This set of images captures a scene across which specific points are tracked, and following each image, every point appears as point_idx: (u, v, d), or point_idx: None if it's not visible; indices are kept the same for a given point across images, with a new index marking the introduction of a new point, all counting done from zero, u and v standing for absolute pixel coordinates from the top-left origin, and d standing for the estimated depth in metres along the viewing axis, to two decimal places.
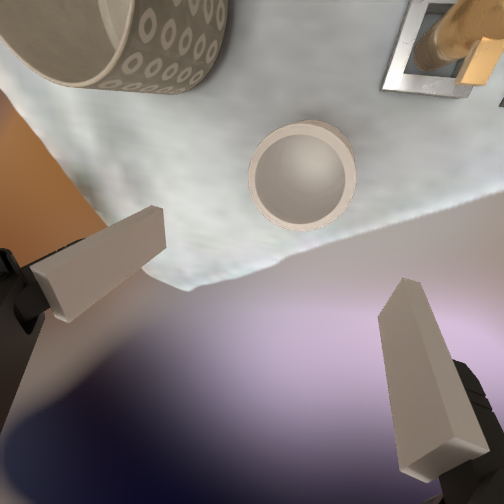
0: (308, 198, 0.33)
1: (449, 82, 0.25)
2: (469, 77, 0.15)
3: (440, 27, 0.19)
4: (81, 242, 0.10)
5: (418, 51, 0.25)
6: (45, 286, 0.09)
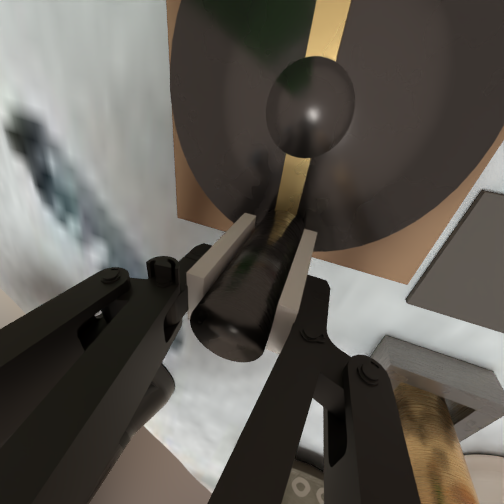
0: None
1: (476, 416, 0.18)
2: None
3: None
4: (211, 249, 0.11)
5: None
6: (195, 291, 0.10)
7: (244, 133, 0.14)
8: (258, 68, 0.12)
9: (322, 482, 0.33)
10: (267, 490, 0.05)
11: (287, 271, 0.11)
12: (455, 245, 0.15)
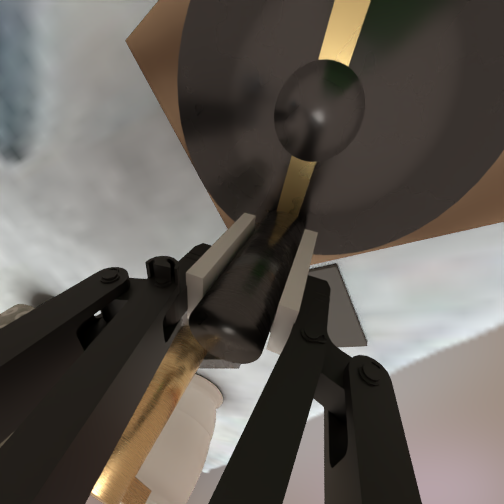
0: None
1: (218, 361, 0.27)
2: None
3: None
4: (211, 249, 0.11)
5: None
6: (194, 290, 0.10)
7: (250, 131, 0.14)
8: (269, 66, 0.12)
9: None
10: (268, 491, 0.05)
11: (286, 274, 0.11)
12: None
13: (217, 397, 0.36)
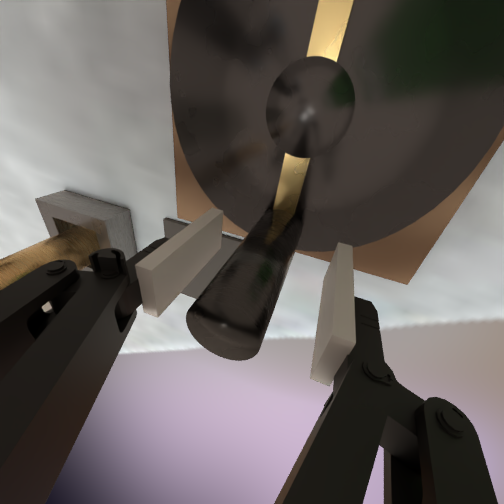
0: None
1: None
2: None
3: None
4: (168, 242, 0.11)
5: None
6: (145, 283, 0.10)
7: (244, 131, 0.14)
8: (259, 66, 0.12)
9: None
10: None
11: (284, 270, 0.11)
12: None
13: None
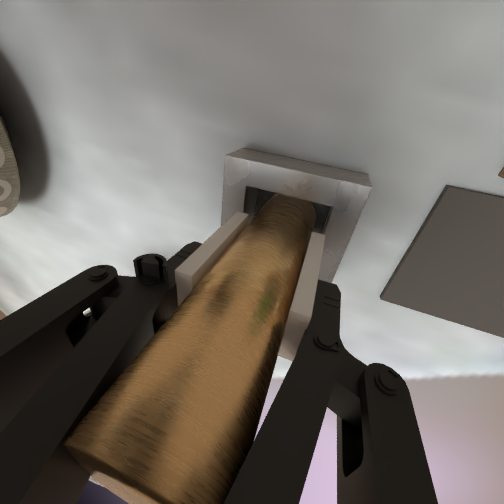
0: None
1: None
2: None
3: None
4: (201, 247, 0.11)
5: None
6: (184, 288, 0.10)
7: None
8: None
9: (7, 144, 0.19)
10: (280, 501, 0.04)
11: None
12: None
13: None
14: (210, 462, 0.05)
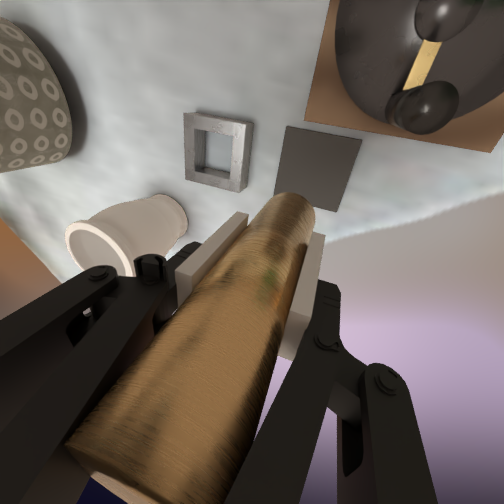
0: None
1: (224, 181, 0.32)
2: None
3: None
4: (201, 247, 0.11)
5: None
6: (184, 288, 0.10)
7: (391, 29, 0.21)
8: None
9: (68, 113, 0.35)
10: (280, 501, 0.04)
11: None
12: (330, 138, 0.28)
13: (184, 226, 0.41)
14: (210, 463, 0.05)
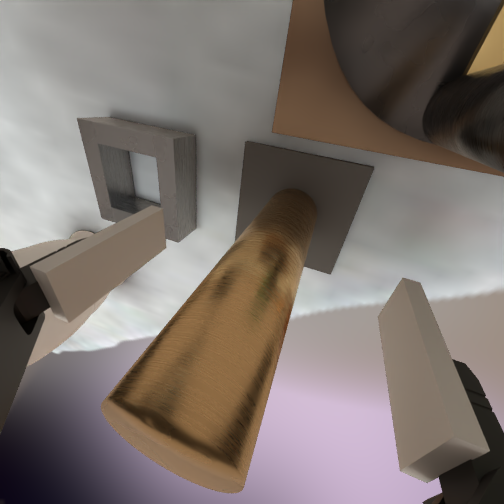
0: None
1: None
2: None
3: None
4: (81, 242, 0.10)
5: None
6: (45, 286, 0.09)
7: None
8: None
9: None
10: None
11: None
12: (318, 163, 0.16)
13: None
14: (232, 413, 0.05)
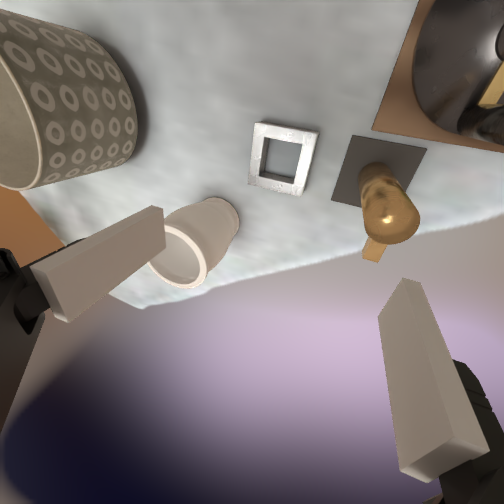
0: None
1: (287, 185, 0.34)
2: (367, 256, 0.22)
3: (361, 194, 0.26)
4: (81, 242, 0.10)
5: (358, 183, 0.32)
6: (45, 286, 0.09)
7: (472, 50, 0.23)
8: (501, 5, 0.21)
9: (136, 121, 0.37)
10: None
11: None
12: (395, 147, 0.30)
13: (236, 228, 0.43)
14: (415, 207, 0.19)
